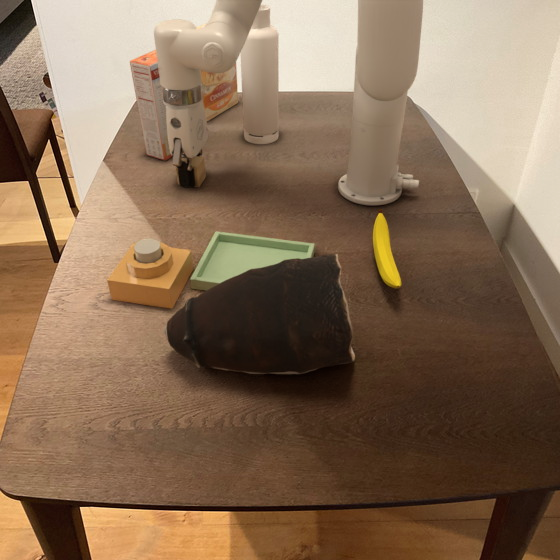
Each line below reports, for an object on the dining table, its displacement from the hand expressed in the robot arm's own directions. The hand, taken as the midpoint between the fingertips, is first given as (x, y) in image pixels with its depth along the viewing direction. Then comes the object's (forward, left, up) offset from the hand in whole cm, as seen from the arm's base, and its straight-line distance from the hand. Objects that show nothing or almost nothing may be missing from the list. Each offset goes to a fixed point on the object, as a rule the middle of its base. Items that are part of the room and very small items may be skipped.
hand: (191, 179), depth 118 cm
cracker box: (+9, -14, -1) cm, 17 cm away
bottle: (-9, -23, -1) cm, 25 cm away
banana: (-41, +22, -1) cm, 47 cm away
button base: (-5, +33, 0) cm, 33 cm away
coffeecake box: (+7, -35, -1) cm, 36 cm away
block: (0, 0, 0) cm, 0 cm away
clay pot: (-25, +44, -1) cm, 51 cm away
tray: (-20, +26, 0) cm, 33 cm away
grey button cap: (-5, +33, +5) cm, 34 cm away
